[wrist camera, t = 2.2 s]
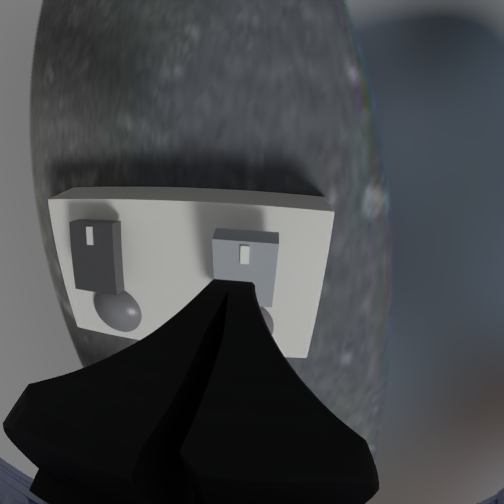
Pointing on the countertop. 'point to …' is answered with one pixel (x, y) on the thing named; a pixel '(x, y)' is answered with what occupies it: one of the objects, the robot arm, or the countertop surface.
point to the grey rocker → (247, 259)
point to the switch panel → (195, 254)
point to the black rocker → (97, 255)
